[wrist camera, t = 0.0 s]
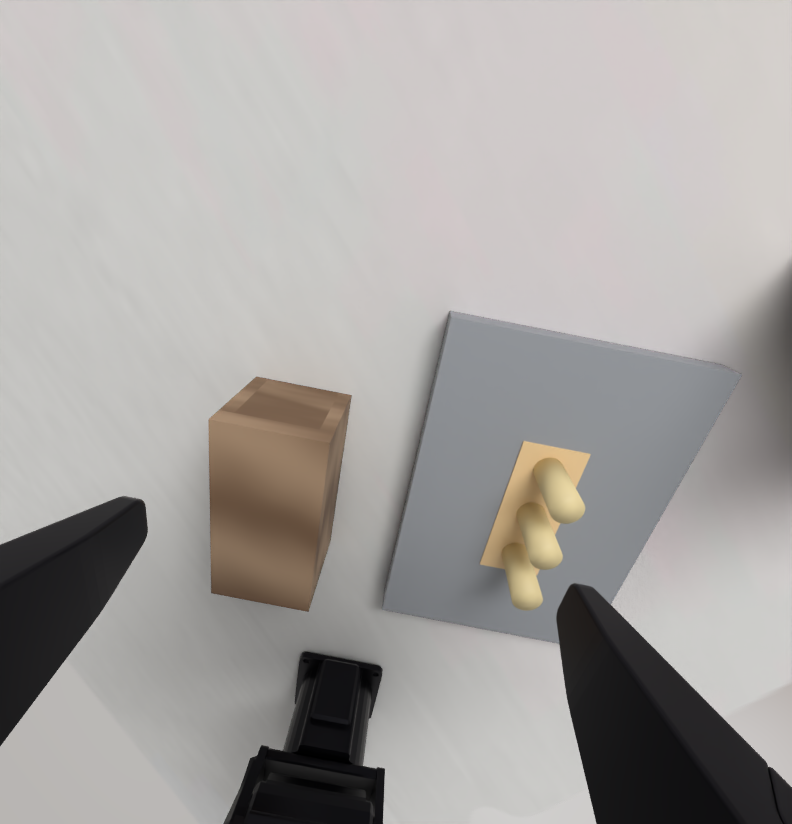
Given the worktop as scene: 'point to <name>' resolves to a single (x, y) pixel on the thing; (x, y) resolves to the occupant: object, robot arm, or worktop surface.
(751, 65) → the worktop surface
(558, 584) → the pin board
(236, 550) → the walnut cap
